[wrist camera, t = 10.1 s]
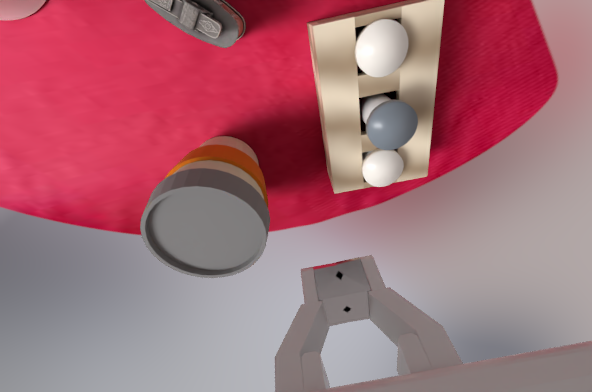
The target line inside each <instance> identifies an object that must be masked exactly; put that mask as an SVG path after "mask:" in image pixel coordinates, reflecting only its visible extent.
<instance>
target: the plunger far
mask: <svg viewBox="0 0 592 392" xmlns="http://www.w3.org/2000/svg"><path fill="white" fill-rule="evenodd" d="M362 162H363V163H362V167H361V171H362V174H363V176H364V178H365V180H366V181H367V182H368V183H369V184H370V185H372V186H376V187H383V186H387V185H389V184H391V183H393V182H395V181H396V180H397V179H398V178H399V177H400V175H401V173H402V171H403V167H404V164H403V160H402V158H401V157H400V156H399V154H398V153H397V152H396V151H395V150H382V149H376V150H373V151H368V152H363V153H362Z"/></svg>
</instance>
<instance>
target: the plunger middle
mask: <svg viewBox="0 0 592 392" xmlns="http://www.w3.org/2000/svg"><path fill="white" fill-rule="evenodd" d="M359 108H360V117H361V119H362V120H363V121H364V123H365V124H366V133H367V136H368V138H369V139H370V141H371V142H372V144H373V145H374V146H376V147H377V148H379V149H382V150H394V149H397V148H400V147H402V146H403V145H405V144H406V143H407V142H408V141H410V139H411V138H412V137H413V135H414V134H415V132H416V129H417V125H418V117H417V114H416V112H415V110H414V109H413V108H412V107H411V106H410V105H408V104H407V103H405V102H403V101H401V100H391V99H390V98H389V97H387V96H386V95H385V94H384V93H380V94H376V95H371V96H366V97H362V98H361V100H360V101H359Z"/></svg>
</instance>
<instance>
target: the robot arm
mask: <svg viewBox="0 0 592 392" xmlns="http://www.w3.org/2000/svg"><path fill="white" fill-rule="evenodd" d="M45 1H46V0H0V20H17V19H21V18H25V17H27V16H30V15H31V14H33V13H35V12H36V11H37V10H38V9H40V8H41V6H42V5H43V4H44V3H45ZM301 278H302V286H303V294H304V302H305V304H302V305H301V306H300V308H299V310H298V312H297V314H296V316H295V318H294V320H293V322H292V324H291V327H290V328H289V330H288V332H287V334H286V336H285V338H284V340H283V342H282V344H281V346H280V348H279V350H278V352H277V354H276V356H275V392H592V341H587V342H582V343H576V344H571V345H565V346H560V347H554V348H549V349H543V350H538V351H532V352H527V353H521V354H515V355H510V356H505V357H499V358H493V359H488V360H482V361H477V362H471V363H466V364H463V363H462V361H461V359H460V358H459V356H458V354H457V352H456V350H455V348H454V346H453V345H452V343H451V341H450V339H449V337H448V335H447V333H446V331H445V330H444V328H443V326H442V325H440V324H439V323H438V322H436V321H435V320H433V319H432V318H431V317H429V316H428V315H427V314H425V313H424V312H422V311H421V310H420V309H418V308H417V307H416V306H414V305H413V304H411V303H410V302H409V301H407V300H406V299H405V298H403V297H402V296H401V295H399V294H398V293H396V292H395V291H394V290H392V289H391V288H386V287H385V285H384V282H383V280H382V277H381V275H380V273H379V271H378V268H377V266H376V263H375V261H374V258H373V256H371V255H370V256H365V257H360V258H354V259H349V260H345V261H340V262H336V263H332V264H326V265H321V266H315V267H310V268H305V269H301ZM364 319H370V320H371V321H372V322H373V323H374V324H375V325H376V326H377V327H378V328H379V329H380V330H381V331H382V332H383V333H384V334H385V335H386V336H387V337H388V338H389V339H390V340H391V341H392V342H393V343H394V344H395V345H396V346H397V347H398V358H397V371H398V374H399V376H394V377H388V378H383V379H377V380H372V381H366V382H361V383H355V384H350V385H344V386H339V387H333V388H330V386H329V381H328V378H327V375H326V372H325V369H324V366H323V362H322V359H321V356H320V354H321V351H322V348H323V345H324V342H325V339H326V336H327V333H328V330H329V326H333V325H337V324H342V323H346V322H351V321H357V320H364Z"/></svg>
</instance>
